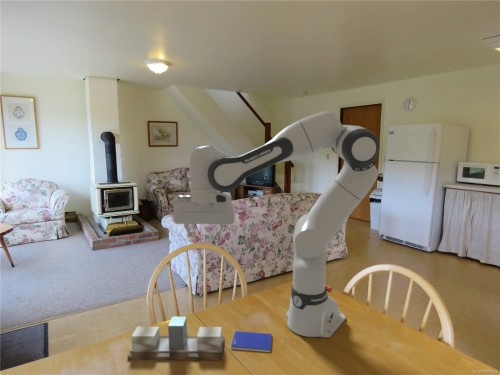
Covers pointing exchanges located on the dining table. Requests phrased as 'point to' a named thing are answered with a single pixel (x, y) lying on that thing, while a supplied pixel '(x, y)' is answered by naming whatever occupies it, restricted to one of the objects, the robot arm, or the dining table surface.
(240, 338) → the hard drive
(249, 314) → the dining table surface
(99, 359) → the dining table surface
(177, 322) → the block
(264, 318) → the dining table surface
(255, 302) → the dining table surface
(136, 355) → the board
